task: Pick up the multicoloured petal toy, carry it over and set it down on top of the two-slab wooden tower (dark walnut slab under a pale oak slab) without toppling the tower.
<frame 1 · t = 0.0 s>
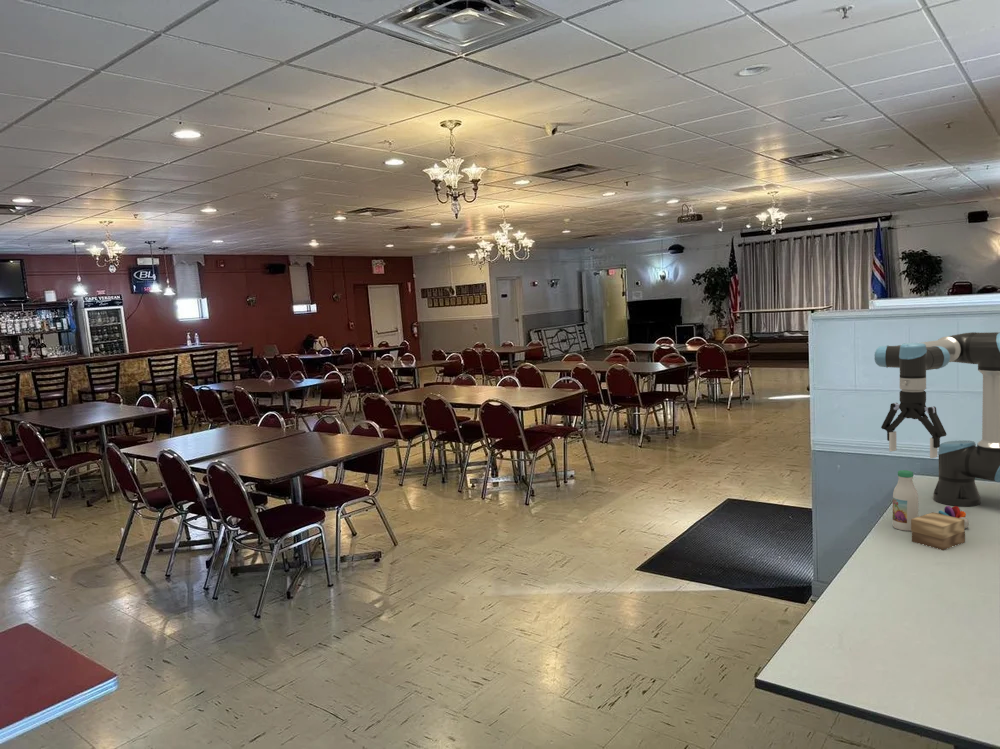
hand: (912, 454, 230), 28 cm above the table, fingers open, 13 cm apart
tower top: (937, 531, 227), point 4 cm above the table, touching tower base
tower base: (938, 543, 227), on the table, touching tower top
milk bottle: (905, 528, 242), on the table
multicoloured petal toy: (951, 527, 241), on the table
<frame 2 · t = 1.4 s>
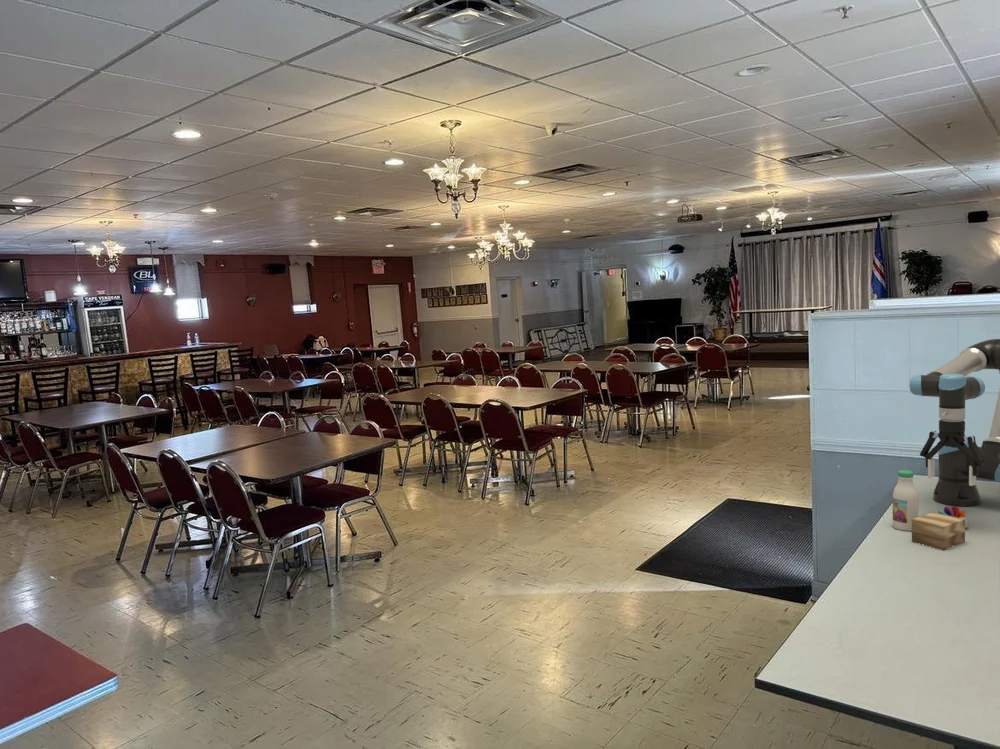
hand: (951, 481, 239), 16 cm above the table, fingers open, 13 cm apart
nothing on the table moved.
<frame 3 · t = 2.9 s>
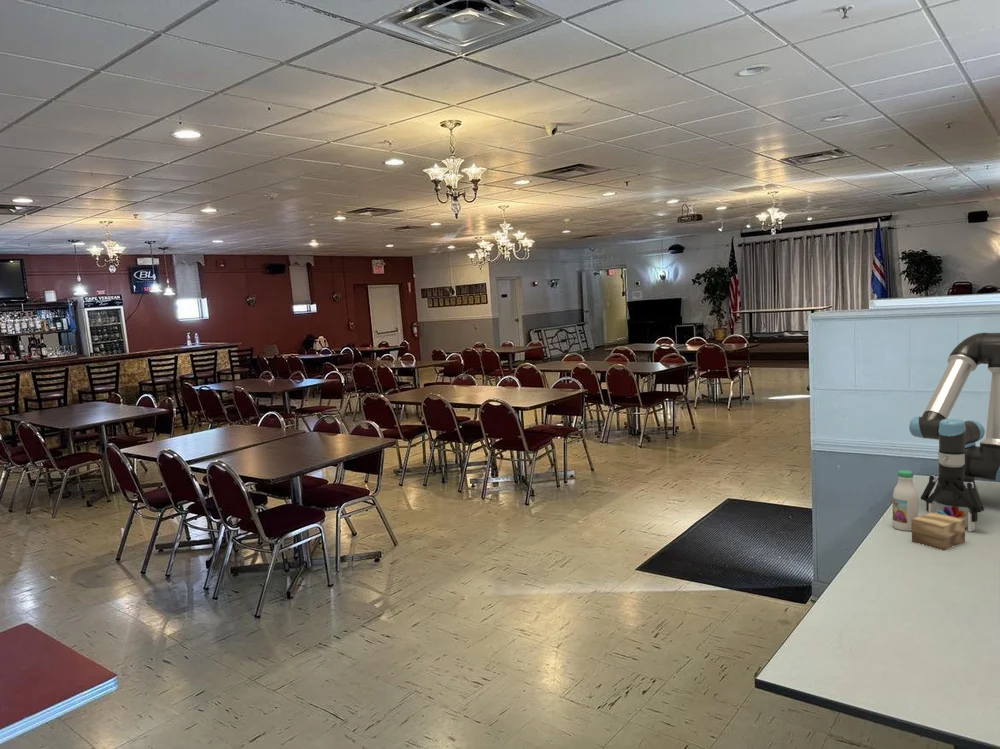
hand: (951, 525, 240), 0 cm above the table, fingers open, 12 cm apart
nothing on the table moved.
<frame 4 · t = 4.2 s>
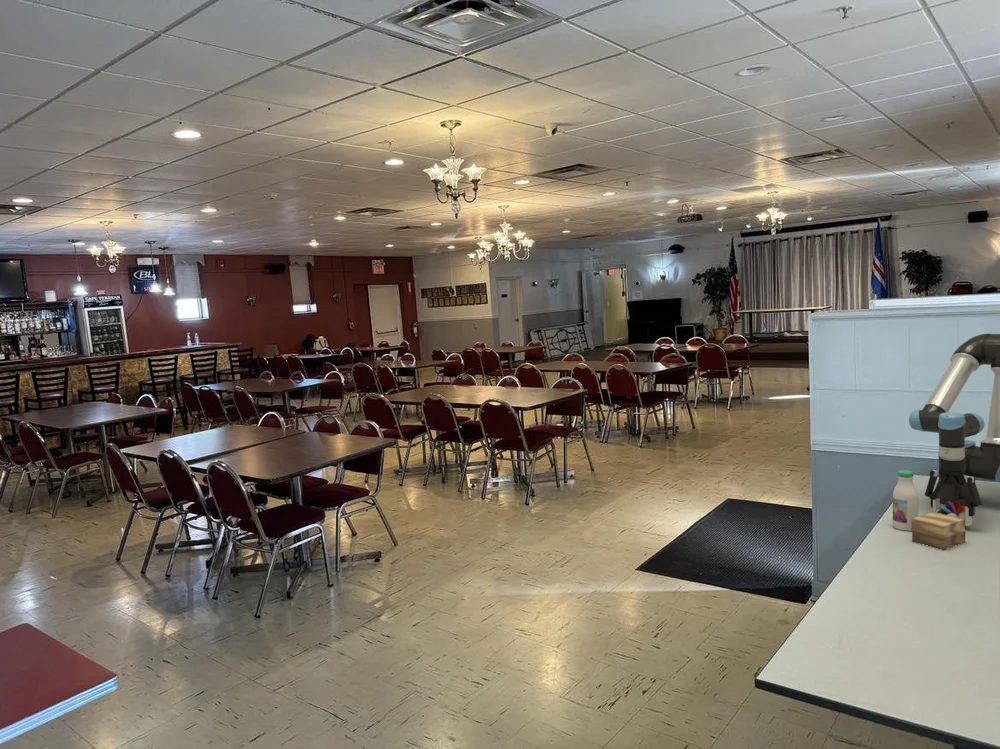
hand: (952, 521, 241), 2 cm above the table, fingers closed on multicoloured petal toy, 10 cm apart
multicoloured petal toy: (952, 522, 241), point 1 cm above the table, touching gripper
everything else where it was.
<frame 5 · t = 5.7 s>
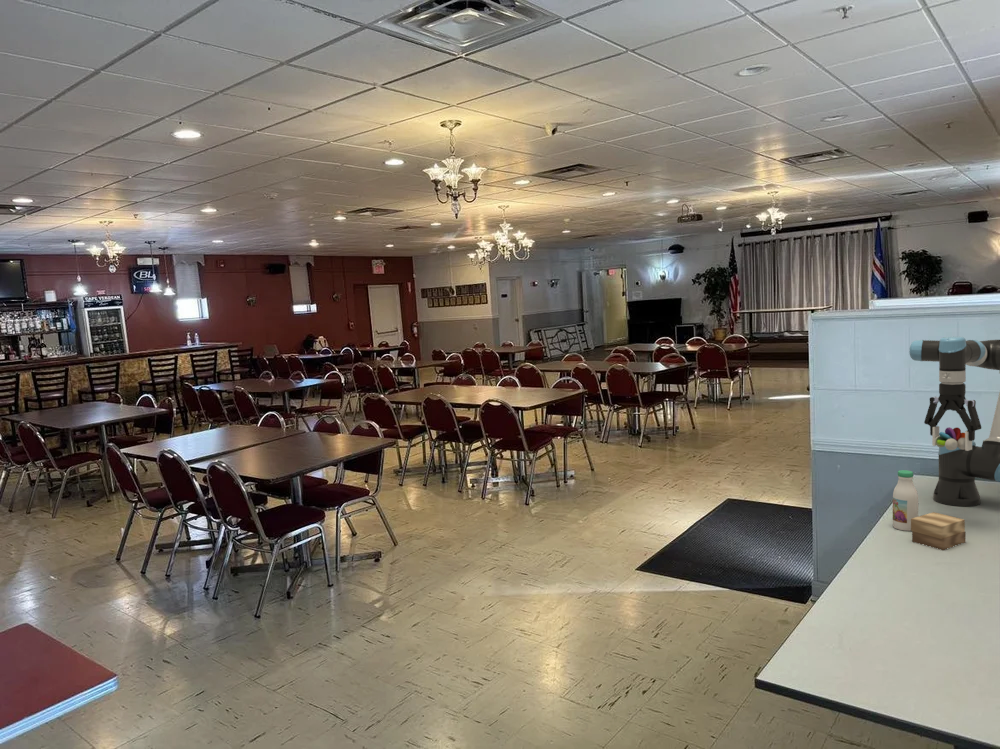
hand: (951, 447, 238), 28 cm above the table, fingers closed on multicoloured petal toy, 10 cm apart
tower top: (937, 531, 227), point 4 cm above the table
tower base: (938, 543, 227), on the table
multicoloured petal toy: (952, 448, 238), point 27 cm above the table, touching gripper
everything else where it was.
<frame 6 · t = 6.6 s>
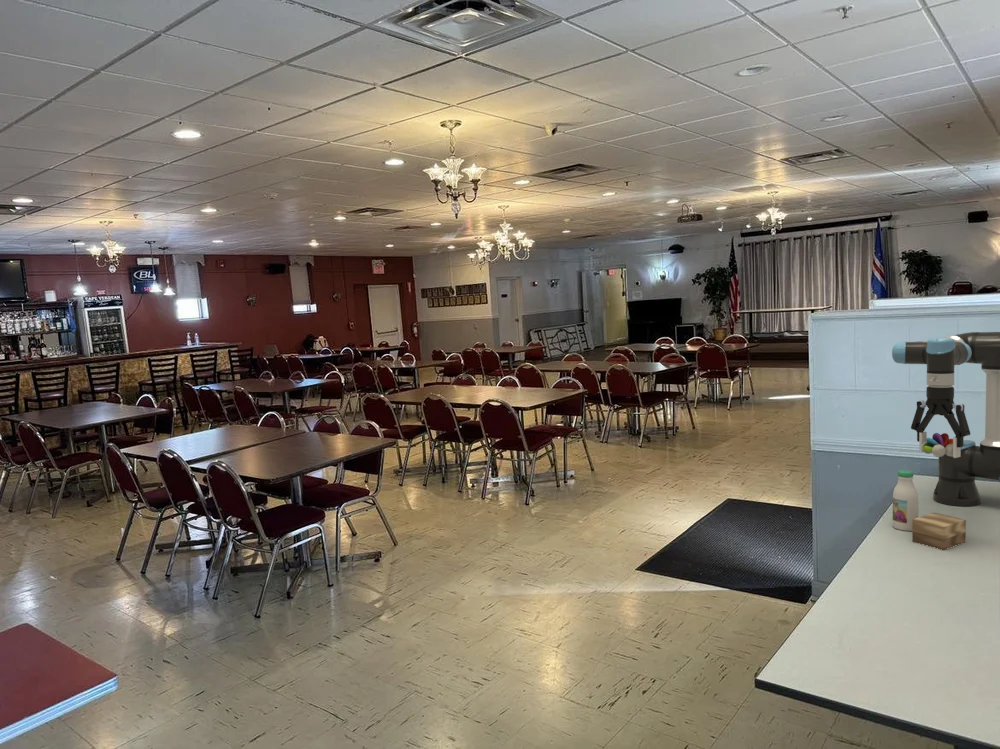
hand: (939, 454, 225), 29 cm above the table, fingers closed on multicoloured petal toy, 10 cm apart
tower top: (938, 531, 227), point 3 cm above the table, touching tower base
tower base: (938, 543, 227), on the table, touching tower top
multicoloured petal toy: (939, 455, 226), point 28 cm above the table, touching gripper
everything else where it was.
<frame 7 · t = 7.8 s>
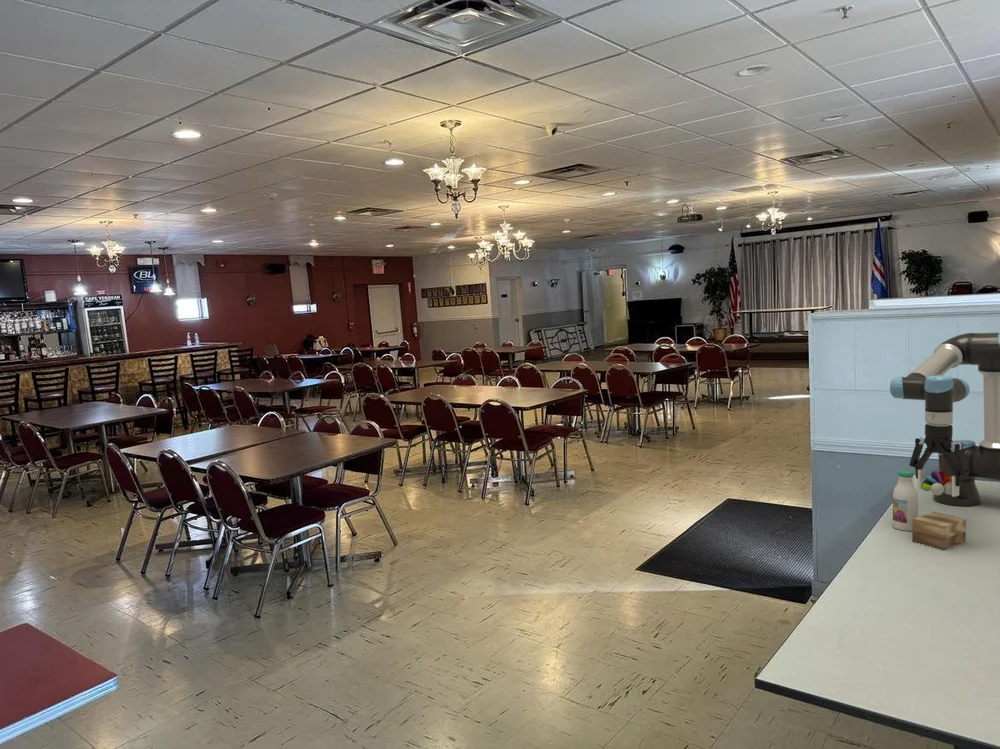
hand: (938, 492, 225), 17 cm above the table, fingers closed on multicoloured petal toy, 10 cm apart
multicoloured petal toy: (938, 493, 225), point 16 cm above the table, touching gripper
everything else where it was.
when the fingers open (9 cm above the table, at t = 9.7 s): multicoloured petal toy moves 2 cm, resting on tower top.
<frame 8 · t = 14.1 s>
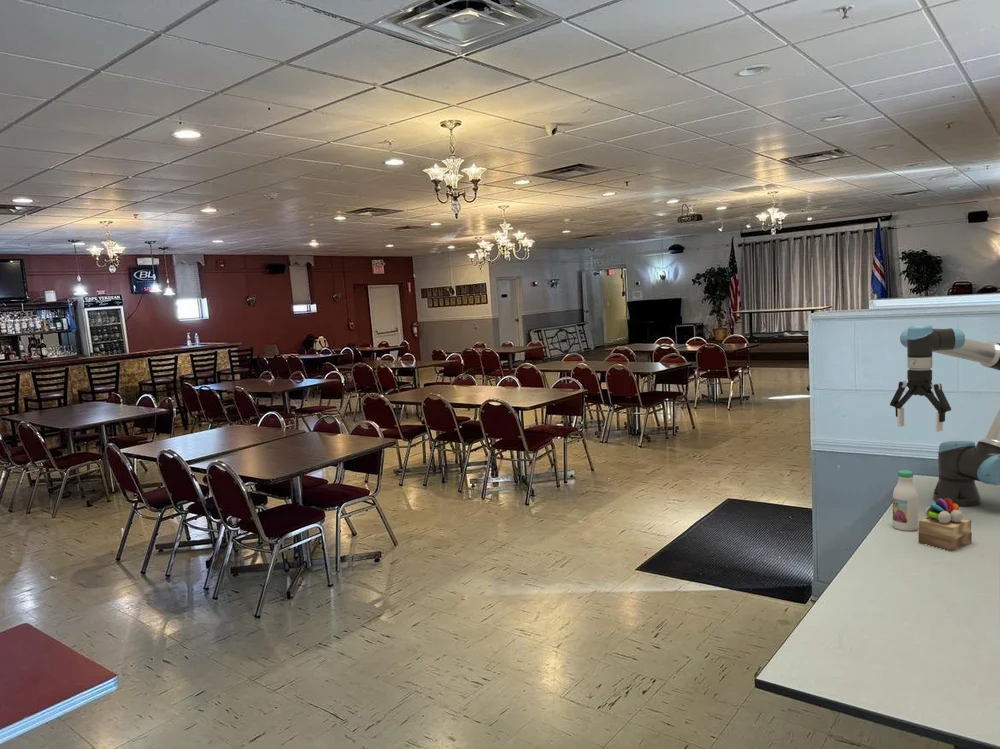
hand: (919, 428, 247), 33 cm above the table, fingers open, 13 cm apart
tower top: (944, 532, 225), point 3 cm above the table, touching multicoloured petal toy
tower base: (944, 544, 226), on the table
multicoloured petal toy: (943, 521, 225), point 7 cm above the table, touching tower top
everything else where it was.
at the end: multicoloured petal toy inside the target area on the tower top (0.4 cm from its centre), point 3.8 cm above the tower top's base; tower top tilted 0°; tower top 0.1 cm from the tower base (horizontally) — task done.
